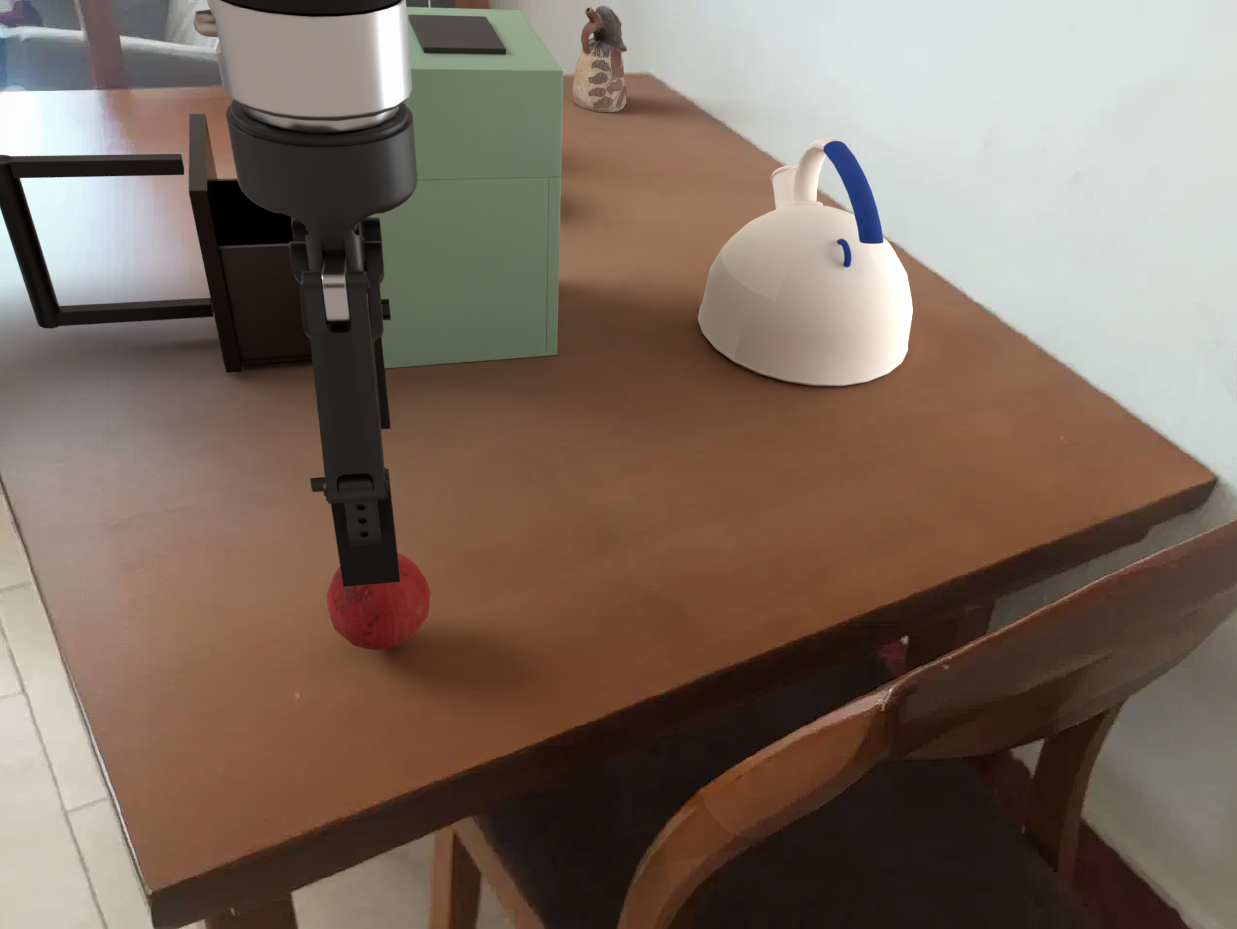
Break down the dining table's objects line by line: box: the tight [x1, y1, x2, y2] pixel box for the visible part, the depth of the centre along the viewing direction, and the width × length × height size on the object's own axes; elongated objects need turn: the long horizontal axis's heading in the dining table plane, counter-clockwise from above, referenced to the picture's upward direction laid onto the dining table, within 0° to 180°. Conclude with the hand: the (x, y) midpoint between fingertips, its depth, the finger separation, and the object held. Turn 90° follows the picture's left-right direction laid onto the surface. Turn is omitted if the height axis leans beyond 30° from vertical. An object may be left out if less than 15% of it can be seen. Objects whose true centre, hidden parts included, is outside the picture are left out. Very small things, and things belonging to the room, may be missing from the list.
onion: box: [326, 551, 432, 651], centre depth 64 cm, size 6×6×8 cm
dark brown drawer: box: [0, 113, 312, 374], centre depth 86 cm, size 28×15×15 cm, turn 110°
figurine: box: [572, 5, 628, 113], centre depth 141 cm, size 7×7×12 cm
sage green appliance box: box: [369, 6, 564, 369], centre depth 89 cm, size 16×15×24 cm
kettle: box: [697, 136, 914, 387], centre depth 98 cm, size 20×21×18 cm
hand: (369, 497), depth 59 cm, fingers open, 13 cm apart
